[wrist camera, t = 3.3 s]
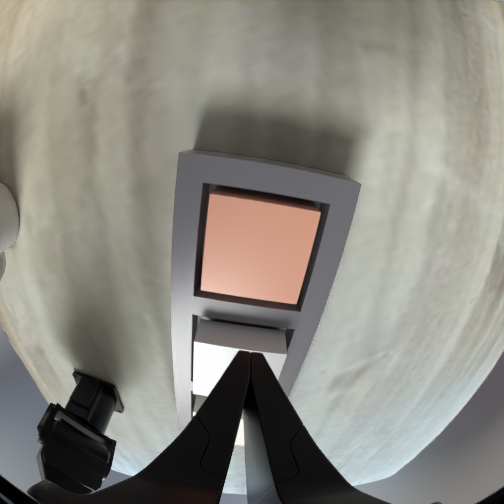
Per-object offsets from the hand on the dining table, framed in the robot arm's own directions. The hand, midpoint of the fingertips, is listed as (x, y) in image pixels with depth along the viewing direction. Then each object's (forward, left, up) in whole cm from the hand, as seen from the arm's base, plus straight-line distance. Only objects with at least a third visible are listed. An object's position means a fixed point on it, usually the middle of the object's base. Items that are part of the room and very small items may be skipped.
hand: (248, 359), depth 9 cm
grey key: (-8, 0, -8) cm, 12 cm away
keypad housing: (-8, 0, -11) cm, 14 cm away
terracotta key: (+1, 0, -10) cm, 10 cm away
